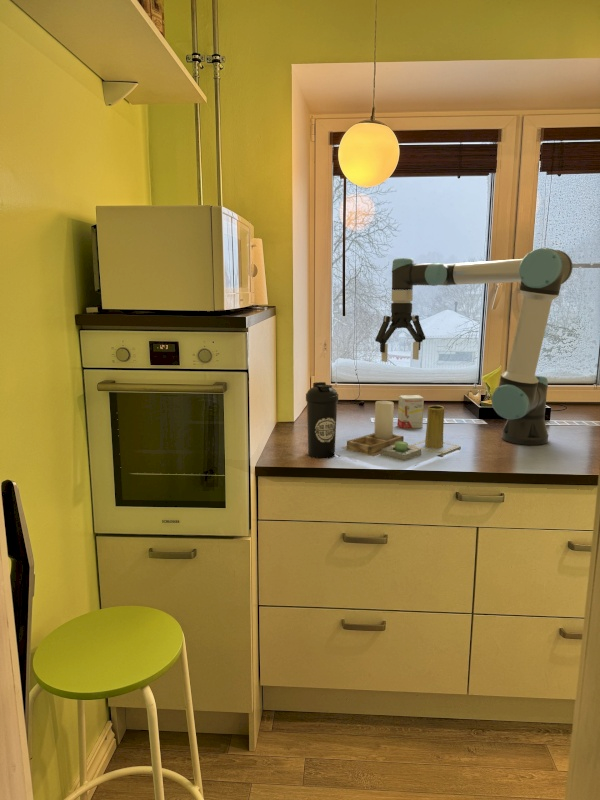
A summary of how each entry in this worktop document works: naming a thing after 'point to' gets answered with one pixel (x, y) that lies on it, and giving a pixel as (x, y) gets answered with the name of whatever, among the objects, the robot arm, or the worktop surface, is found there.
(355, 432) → the worktop surface
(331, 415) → the water bottle
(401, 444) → the button
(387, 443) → the wooden divided tray
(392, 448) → the square block with hole
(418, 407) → the ink box
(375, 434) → the cream rounded cylinder
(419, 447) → the rim
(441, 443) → the vase
